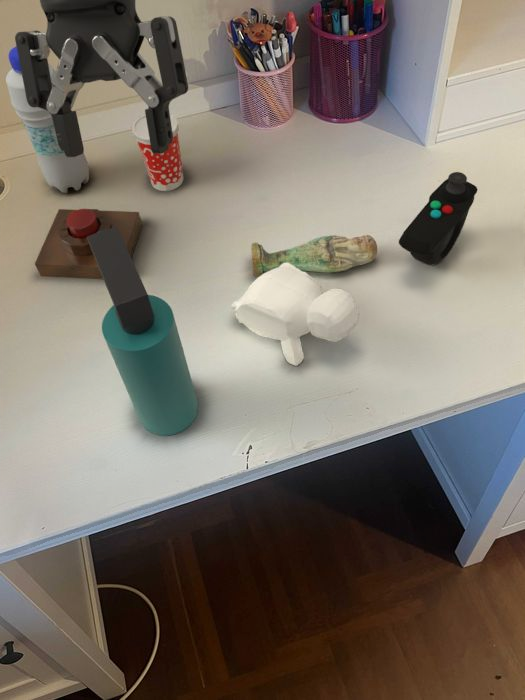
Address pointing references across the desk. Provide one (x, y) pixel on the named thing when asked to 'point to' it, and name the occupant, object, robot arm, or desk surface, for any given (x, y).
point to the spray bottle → (144, 341)
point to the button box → (82, 244)
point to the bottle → (45, 135)
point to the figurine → (318, 255)
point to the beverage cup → (160, 156)
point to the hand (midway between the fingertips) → (117, 153)
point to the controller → (440, 220)
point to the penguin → (295, 310)
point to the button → (82, 223)
